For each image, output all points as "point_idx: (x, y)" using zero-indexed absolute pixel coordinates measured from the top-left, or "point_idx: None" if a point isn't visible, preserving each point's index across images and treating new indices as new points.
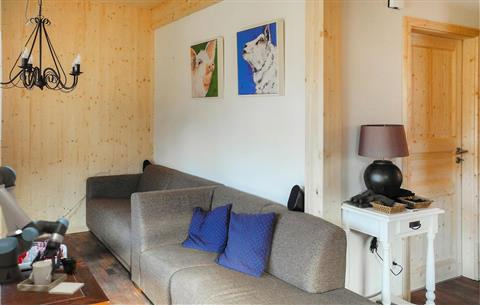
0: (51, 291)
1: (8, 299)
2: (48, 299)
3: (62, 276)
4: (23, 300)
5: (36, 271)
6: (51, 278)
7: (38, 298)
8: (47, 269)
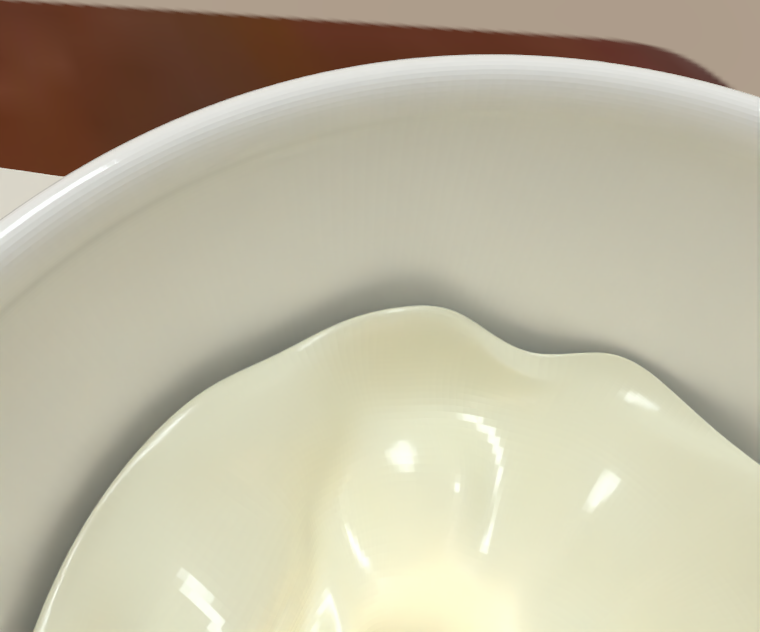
0: (41, 183)
1: (654, 65)
2: (57, 26)
3: None
4: (417, 26)
5: (571, 275)
6: None
7: (222, 62)
8: (89, 405)
